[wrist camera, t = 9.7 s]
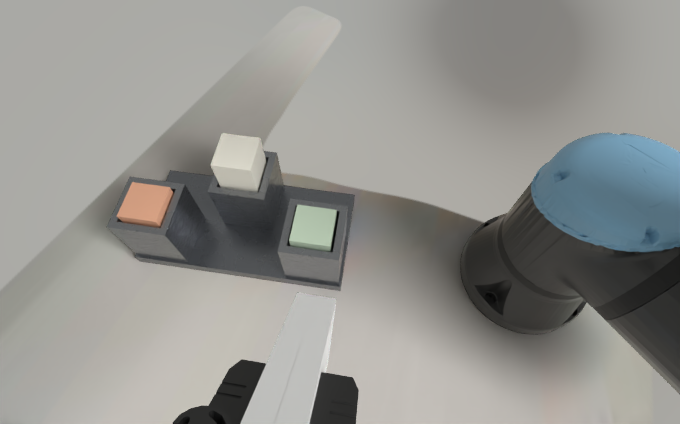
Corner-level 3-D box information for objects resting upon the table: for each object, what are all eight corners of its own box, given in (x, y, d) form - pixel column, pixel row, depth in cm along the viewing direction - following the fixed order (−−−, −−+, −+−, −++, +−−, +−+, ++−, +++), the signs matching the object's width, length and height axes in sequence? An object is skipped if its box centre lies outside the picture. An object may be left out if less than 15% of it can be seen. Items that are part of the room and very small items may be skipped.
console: (354, 200, 57) (357, 161, 49) (340, 290, 51) (341, 263, 43) (174, 176, 59) (147, 134, 50) (139, 261, 52) (102, 229, 44)
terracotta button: (192, 221, 53) (169, 187, 46) (181, 252, 51) (155, 221, 44) (160, 216, 53) (132, 182, 46) (148, 247, 51) (116, 216, 44)
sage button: (336, 241, 52) (336, 209, 45) (330, 273, 50) (330, 246, 43) (302, 236, 52) (297, 204, 45) (295, 268, 50) (289, 240, 43)
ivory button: (271, 179, 53) (260, 137, 45) (263, 208, 51) (250, 170, 43) (237, 174, 53) (221, 133, 45) (228, 204, 51) (210, 165, 43)
